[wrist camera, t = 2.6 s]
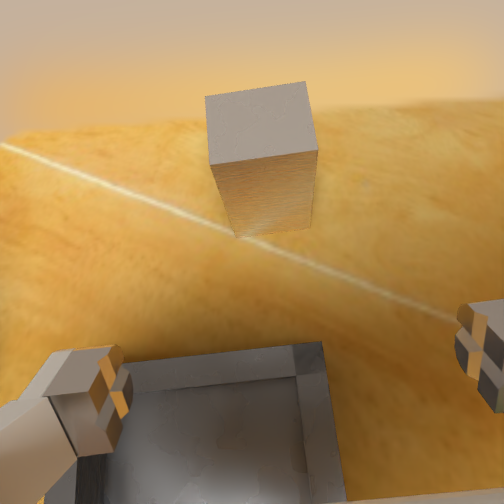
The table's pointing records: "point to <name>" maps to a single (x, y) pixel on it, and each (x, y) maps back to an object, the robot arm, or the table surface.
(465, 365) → the robot arm
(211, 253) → the table surface
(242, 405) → the bracket
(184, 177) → the table surface
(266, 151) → the block
